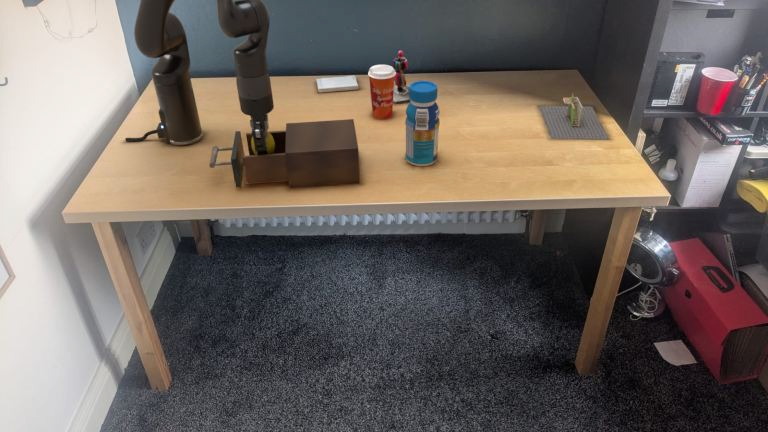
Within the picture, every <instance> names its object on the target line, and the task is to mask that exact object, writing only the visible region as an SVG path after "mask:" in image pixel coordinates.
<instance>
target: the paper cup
mask: <svg viewBox="0 0 768 432" xmlns="http://www.w3.org/2000/svg"><path fill="white" fill-rule="evenodd" d="M395 71H396V70H395V69H394V66H391V65H389V64H375V65H372V66H371V67H369V69H368V72H367V76H368V79H369V90H370V91H369V92H370V100H371V110H372V112H371V113H372V116H373V118H374V119H376V120H387V119H391V118H392V116H393V108H394V107H393V106H394V101H393V92H394V87H395V81H394V76H395V74H396V72H395Z"/></svg>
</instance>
